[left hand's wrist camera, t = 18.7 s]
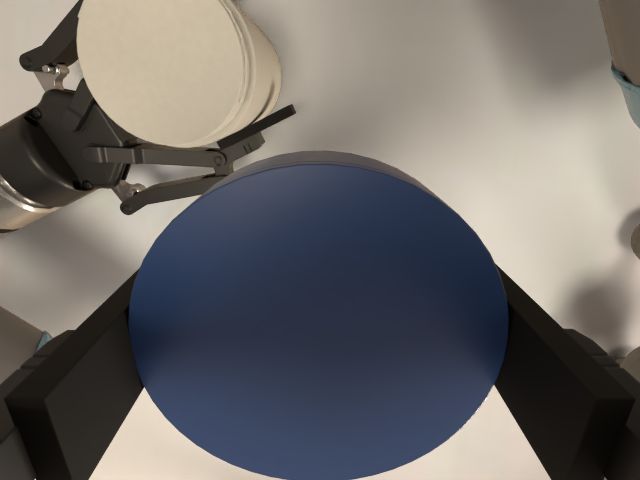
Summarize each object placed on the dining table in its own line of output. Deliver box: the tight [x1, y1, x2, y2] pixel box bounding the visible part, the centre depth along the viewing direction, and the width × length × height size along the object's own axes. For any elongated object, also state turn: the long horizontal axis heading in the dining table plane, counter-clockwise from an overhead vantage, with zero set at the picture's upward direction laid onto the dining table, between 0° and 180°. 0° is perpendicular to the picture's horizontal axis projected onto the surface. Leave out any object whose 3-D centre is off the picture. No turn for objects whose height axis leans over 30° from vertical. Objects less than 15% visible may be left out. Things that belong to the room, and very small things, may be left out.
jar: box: [77, 0, 282, 148], centre depth 27 cm, size 9×9×16 cm
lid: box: [128, 151, 509, 480], centre depth 11 cm, size 10×10×2 cm
